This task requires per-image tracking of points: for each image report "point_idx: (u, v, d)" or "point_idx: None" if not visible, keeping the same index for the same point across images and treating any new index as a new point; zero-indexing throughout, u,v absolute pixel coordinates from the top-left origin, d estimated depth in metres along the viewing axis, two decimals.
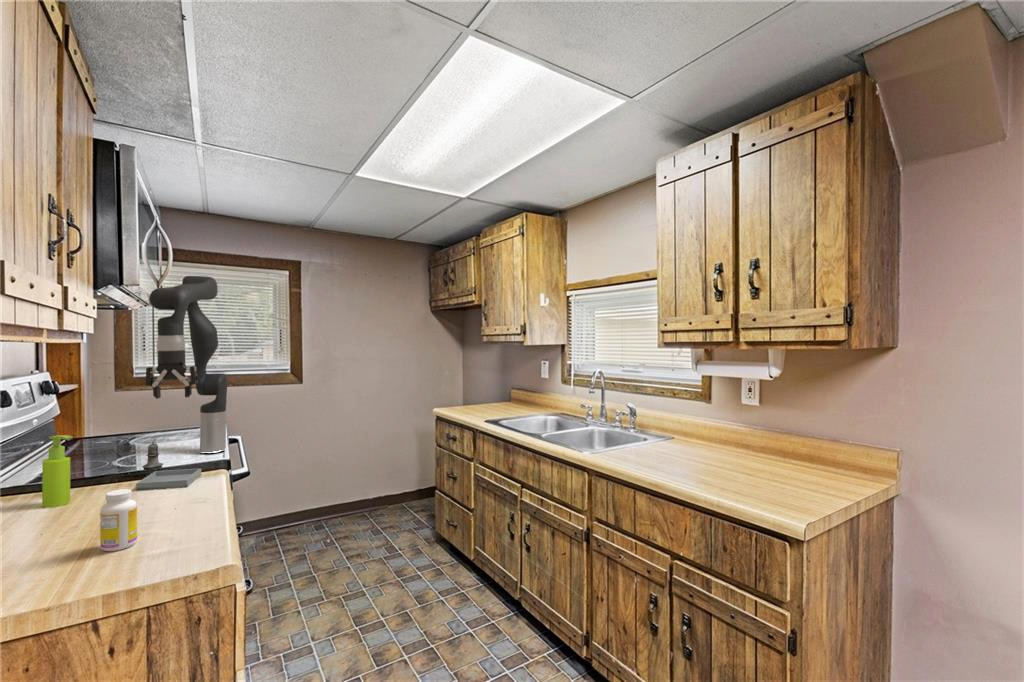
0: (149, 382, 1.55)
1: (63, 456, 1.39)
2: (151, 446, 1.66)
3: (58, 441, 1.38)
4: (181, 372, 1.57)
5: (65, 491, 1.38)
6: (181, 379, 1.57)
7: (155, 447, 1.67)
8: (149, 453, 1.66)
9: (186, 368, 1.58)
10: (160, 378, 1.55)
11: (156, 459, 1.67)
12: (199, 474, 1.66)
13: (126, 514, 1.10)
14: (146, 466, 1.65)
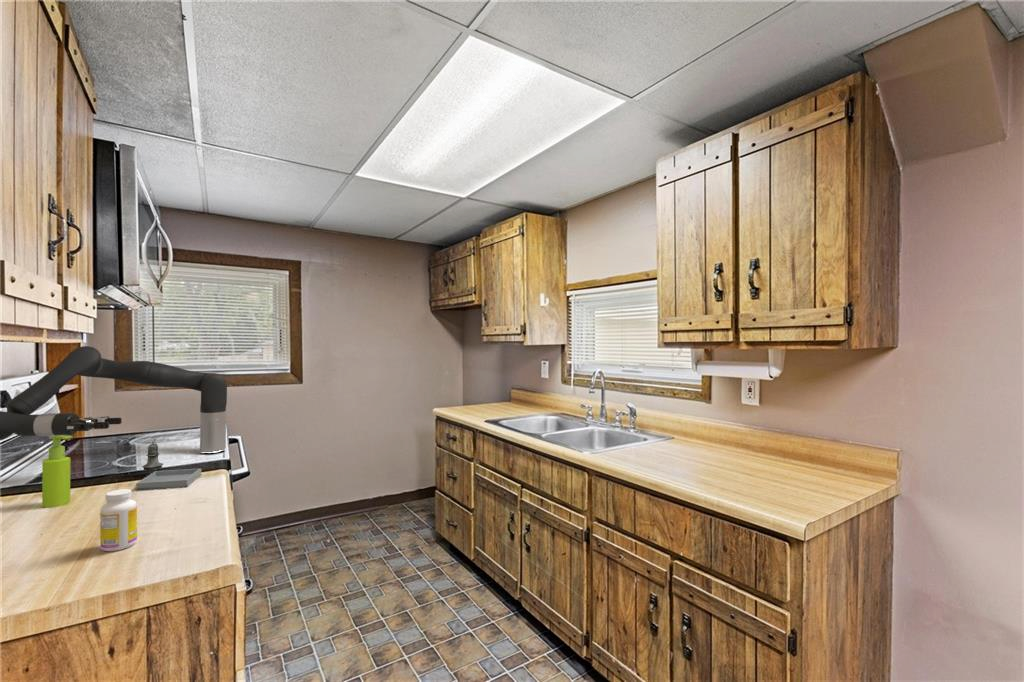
0: None
1: (63, 456, 1.39)
2: (151, 446, 1.66)
3: (58, 441, 1.38)
4: None
5: (65, 491, 1.38)
6: None
7: (155, 447, 1.67)
8: (149, 453, 1.66)
9: None
10: None
11: (156, 459, 1.67)
12: (199, 474, 1.66)
13: (126, 514, 1.10)
14: (146, 466, 1.65)
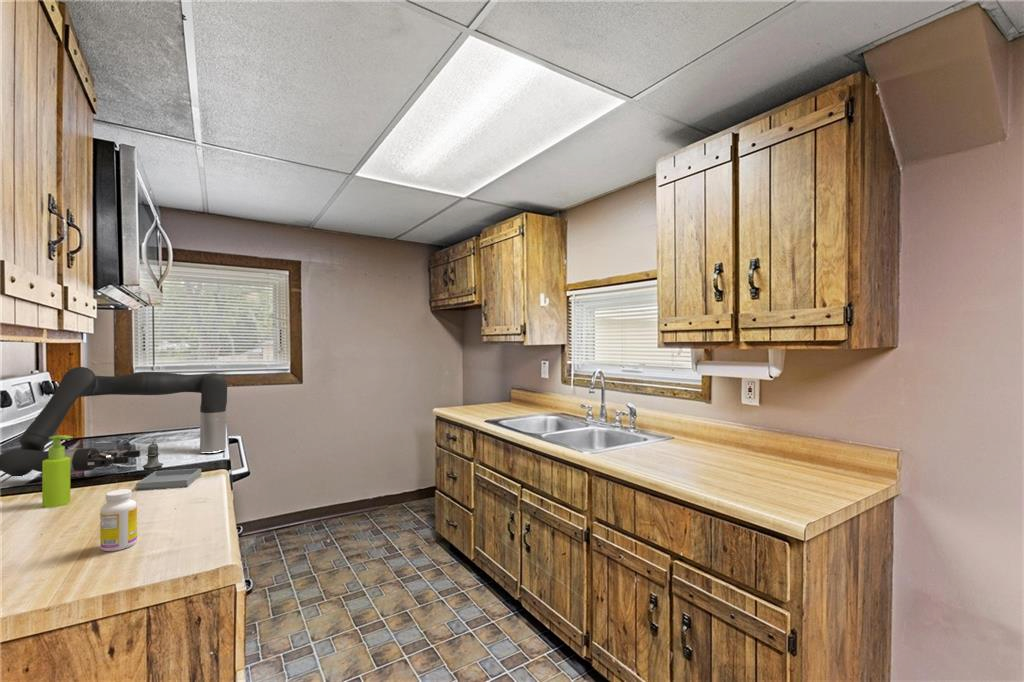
0: None
1: (63, 456, 1.39)
2: (151, 446, 1.66)
3: (58, 441, 1.38)
4: None
5: (65, 491, 1.38)
6: None
7: (155, 447, 1.67)
8: (149, 453, 1.66)
9: None
10: None
11: (156, 459, 1.67)
12: (199, 474, 1.66)
13: (126, 514, 1.10)
14: (146, 466, 1.65)
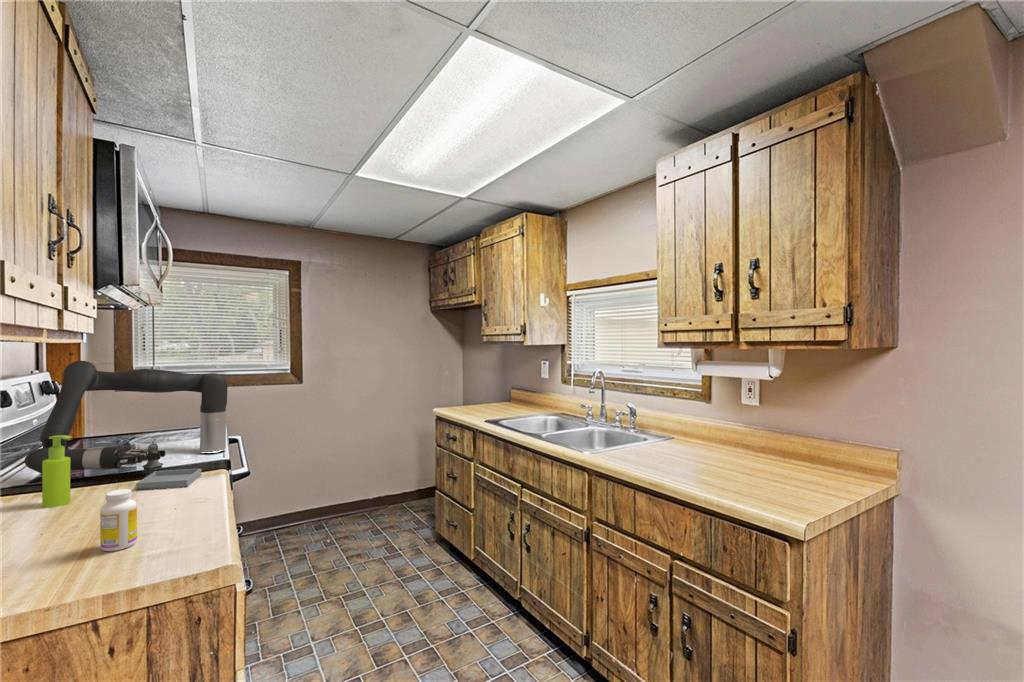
0: None
1: (63, 456, 1.39)
2: (151, 446, 1.66)
3: (58, 441, 1.38)
4: (129, 461, 1.63)
5: (65, 491, 1.38)
6: None
7: (155, 447, 1.67)
8: (149, 453, 1.66)
9: None
10: None
11: None
12: (199, 474, 1.66)
13: (126, 514, 1.10)
14: (146, 466, 1.65)
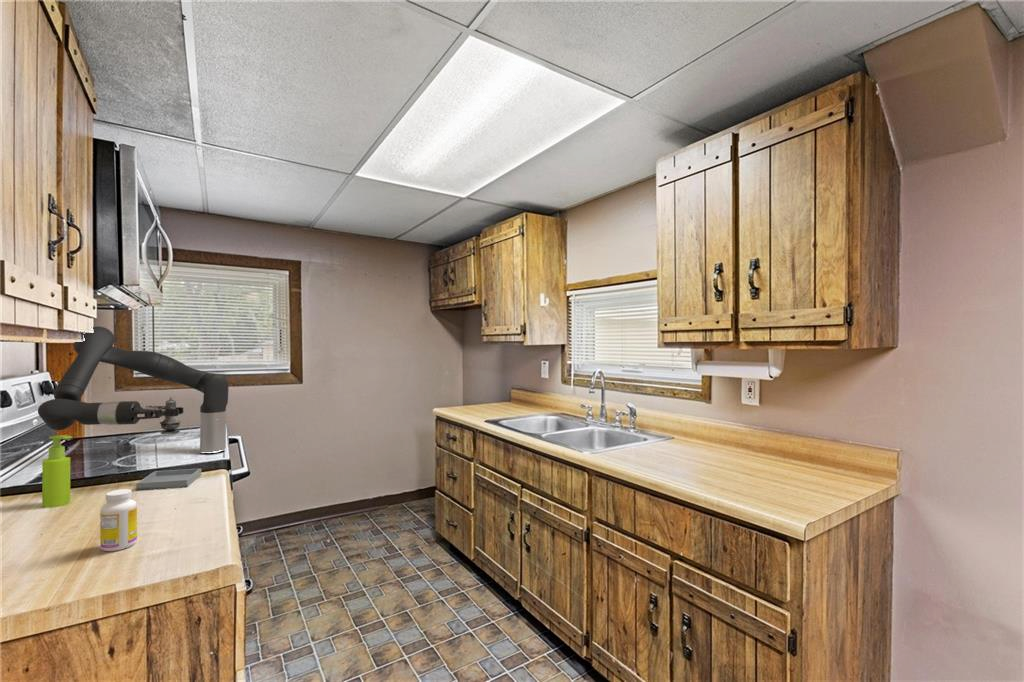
0: None
1: (63, 456, 1.39)
2: (169, 401, 1.58)
3: (58, 441, 1.38)
4: None
5: (65, 491, 1.38)
6: None
7: (173, 403, 1.59)
8: None
9: None
10: None
11: None
12: (199, 474, 1.66)
13: (126, 514, 1.10)
14: (164, 422, 1.57)
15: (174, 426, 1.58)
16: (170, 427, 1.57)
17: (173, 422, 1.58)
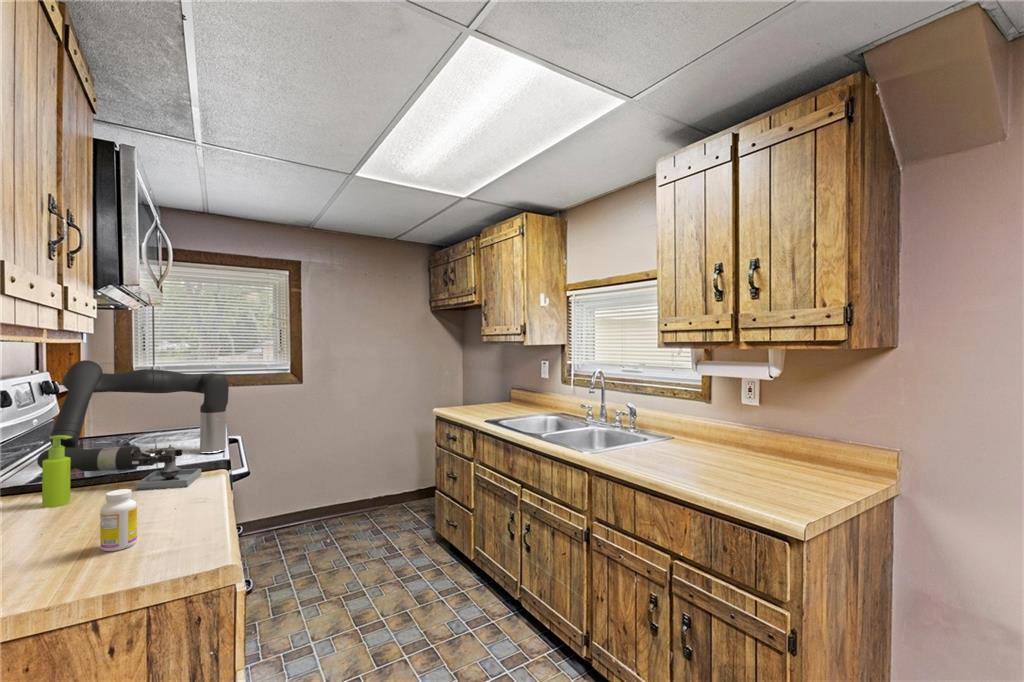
0: (165, 455, 1.64)
1: (63, 456, 1.39)
2: (168, 449, 1.58)
3: (58, 441, 1.38)
4: None
5: (65, 491, 1.38)
6: None
7: (172, 450, 1.59)
8: None
9: None
10: None
11: (173, 463, 1.59)
12: (199, 474, 1.66)
13: (126, 514, 1.10)
14: (163, 470, 1.57)
15: (173, 474, 1.58)
16: (169, 475, 1.57)
17: (172, 470, 1.58)
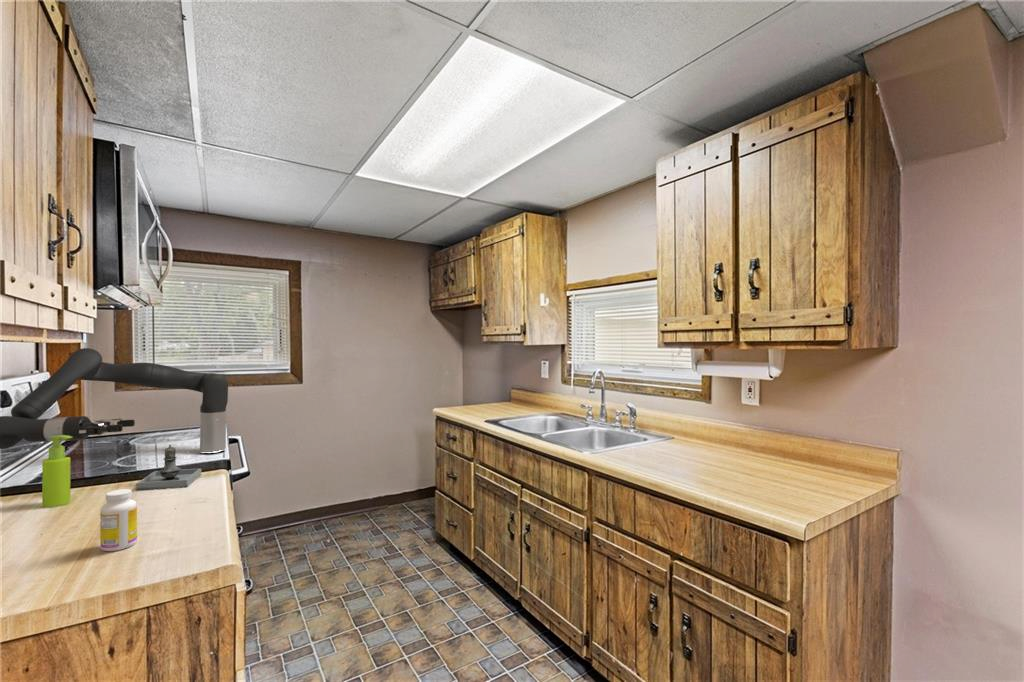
0: None
1: (63, 456, 1.39)
2: (168, 449, 1.58)
3: (58, 441, 1.38)
4: None
5: (65, 491, 1.38)
6: None
7: (172, 451, 1.59)
8: (166, 457, 1.58)
9: None
10: None
11: (173, 463, 1.59)
12: (199, 474, 1.66)
13: (126, 514, 1.10)
14: (163, 471, 1.57)
15: (173, 474, 1.58)
16: (169, 475, 1.57)
17: (172, 470, 1.58)
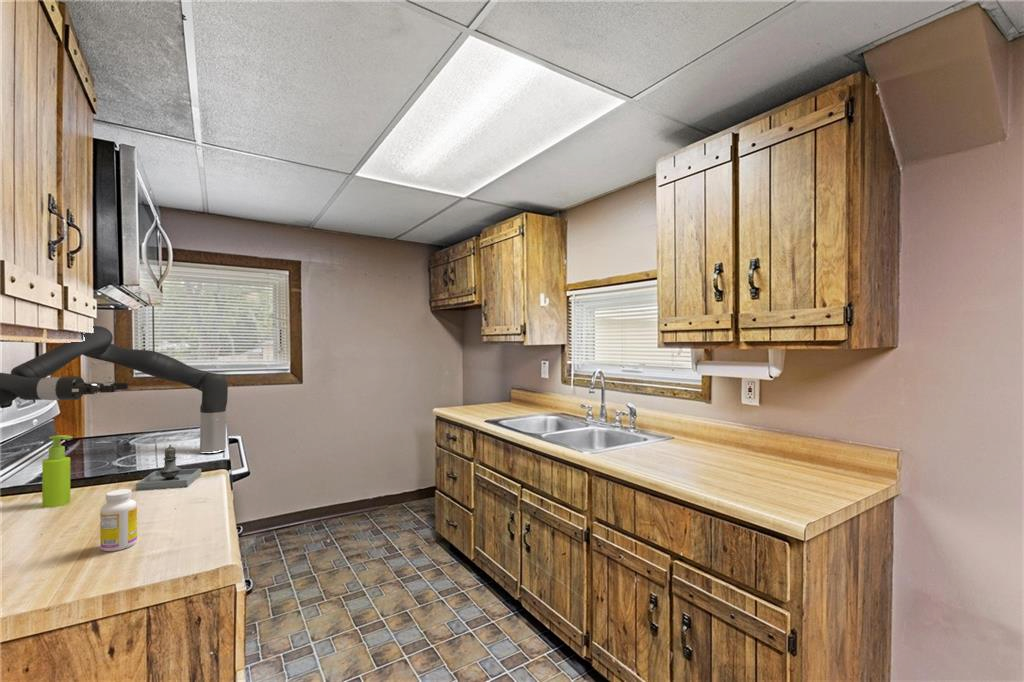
0: None
1: (63, 456, 1.39)
2: (168, 449, 1.58)
3: (58, 441, 1.38)
4: None
5: (65, 491, 1.38)
6: None
7: (172, 451, 1.59)
8: (166, 457, 1.58)
9: None
10: None
11: (173, 463, 1.59)
12: (199, 474, 1.66)
13: (126, 514, 1.10)
14: (163, 471, 1.57)
15: (173, 474, 1.58)
16: (169, 475, 1.57)
17: (172, 470, 1.58)
